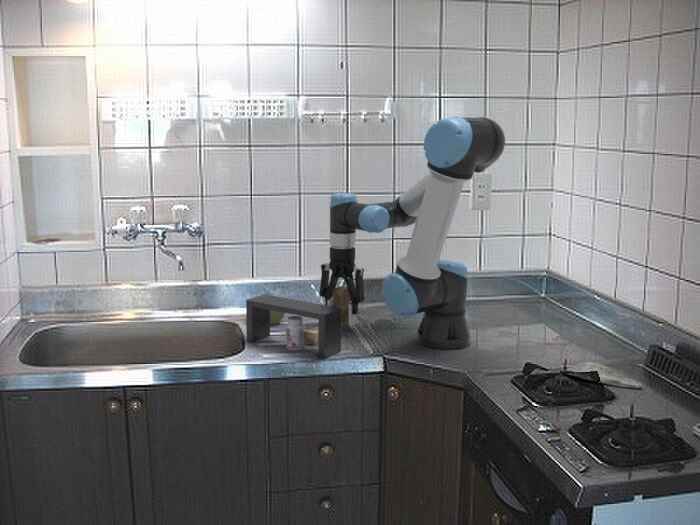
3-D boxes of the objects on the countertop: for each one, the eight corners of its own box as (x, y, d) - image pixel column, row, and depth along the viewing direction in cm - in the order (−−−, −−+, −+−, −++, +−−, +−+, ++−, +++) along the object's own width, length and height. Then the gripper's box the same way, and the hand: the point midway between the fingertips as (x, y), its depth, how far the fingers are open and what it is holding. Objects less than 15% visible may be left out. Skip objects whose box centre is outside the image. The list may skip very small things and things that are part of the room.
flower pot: (286, 327, 225) (286, 304, 223) (252, 326, 225) (252, 303, 223) (289, 318, 234) (289, 296, 233) (257, 317, 235) (257, 295, 233)
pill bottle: (282, 348, 206) (282, 318, 204) (292, 343, 210) (292, 314, 208) (297, 351, 203) (297, 321, 202) (306, 346, 207) (307, 317, 206)
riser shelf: (341, 351, 204) (341, 308, 202) (324, 359, 197) (325, 314, 195) (264, 334, 217) (264, 294, 215) (246, 341, 211) (246, 299, 208)
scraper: (355, 327, 226) (356, 288, 224) (314, 345, 208) (315, 303, 206) (335, 323, 230) (336, 285, 227) (294, 341, 212) (294, 299, 210)
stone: (635, 403, 178) (647, 389, 186) (638, 390, 177) (649, 375, 185) (555, 379, 189) (569, 365, 196) (557, 365, 187) (571, 353, 195)
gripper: (378, 248, 219) (376, 324, 224) (321, 241, 229) (320, 314, 234) (365, 252, 213) (363, 331, 218) (307, 244, 223) (306, 319, 228)
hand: (341, 322), depth 226 cm, fingers open, 7 cm apart
